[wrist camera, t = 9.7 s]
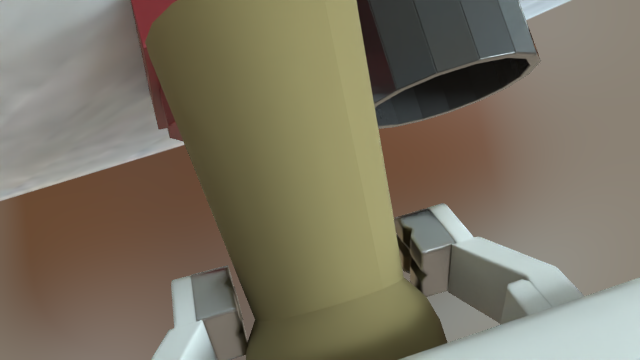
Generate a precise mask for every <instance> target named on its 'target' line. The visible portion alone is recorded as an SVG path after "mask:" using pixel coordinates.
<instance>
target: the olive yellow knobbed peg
mask: <svg viewBox="0 0 640 360" xmlns="http://www.w3.org/2000/svg"><path fill="white" fill-rule="evenodd" d="M145 44H146V47H147V50H148V54H149V57H150V59H151V62H152V64H153V67H154V69H155V72H156V74H157V77H158V79H159V82H160V84H161V87H162V89H163V92H164V94H165V97H166V99H167V102H168V104H169V107H170V109H171V112H172V114H173V117H174V119H175V122H176V124H177V127H178V129H179V132H180V134H181V136H182V139H183V141H184V144H185V146H186V149H187V151H188V154H189V156H190V159H191V161H192V164H193V166H194V169H195V171H196V174H197V176H198V179H199V181H200V184H201V186H202V189H203V191H204V194H205V196H206V199H207V201H208V203H209V206H210V208H211V211H212V214H213V216H214V218H215V221H216V223H217V226H218V228H219V231H220V233H221V236H222V238H223V241H224V243H225V246H226V248H227V251H228V253H229V256H230V258H231V260H232V263H233V266H234V268H235V271H236V273H237V275H238V278H239V281H240V283H241V286H242V288H243V290H244V293H245V296H246V298H247V300H248V303H249V305H250V308H251V310H252V313H253V315H254V318H255V322H254V325H253V328H252V331H251V334H250V337H249V340H248V348H247V352H246V360H399V359H402V358H404V357H407V356H410V355H413V354H416V353H419V352H422V351H425V350H428V349H431V348H434V347H437V346H440V345H443V344H446V343H447V340H446V337H445V334H444V331H443V328H442V325H441V322H440V319H439V318H438V316H437V314H436V313H435V311H434V309H433V307H432V306H431V304H430V302H429V301H428V299H427V297H426V296H425V295H424V294H423V293H422V292H421V291H419V290H418V289H417V288H416V287H415V286H414V285H412V284H411V283H410V282H409V281H408V280H406V279H405V278H404V277H403V271H402V265H401V259H400V253H399V248H398V242H397V236H396V230H395V224H394V218H393V212H392V207H391V201H390V195H389V189H388V183H387V177H386V171H385V166H384V160H383V154H382V148H381V142H380V136H379V131H378V124H377V118H376V113H375V107H374V101H373V95H372V89H371V83H370V77H369V72H368V66H367V60H366V54H365V48H364V42H363V36H362V30H361V25H360V19H359V13H358V7H357V1H356V0H177V1H175V2H174V3H172V4H171V5H170V6H169V7H168V8H167V9H166V10H165V11H164V12H163V13H162V14H161V15H160V16H159V17H158V18H157V19H156V20H155V21H154V22H153V23H152V25H151V27H150V30H149V33H148V35H147V38H146V41H145Z"/></svg>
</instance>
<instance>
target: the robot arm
mask: <svg viewBox="0 0 640 360" xmlns="http://www.w3.org/2000/svg"><path fill="white" fill-rule="evenodd" d="M394 224H395V230H396V233H397V242H398V248H399V253H400V259H401V265H402V269H403V271H406V272H407V273H410V283H411V284H412V285H414V286H415V287H416V288H417V289H418V290H419V291H421V292H422V293H423V294H424V295H425V296H426V297H428V296H431V295H434V294H438V293H442V292H445V291H448V292H449V293H451V294H452V295H454V296H456V297H457V298H459V299H461V300H462V301H464V302H466V303H467V304H469V305H470V306H472V307H474V308H475V309H477V310H479V311H480V312H482V313H484V314H485V315H487V316H489V317H490V318H492V319H494V320H495V321H497V322H498V323H500V325H498V326H496V327H493V328H490V329H487V330H484V331H481V332H478V333H475V334H472V335H469V336H466V337H463V338H460V339H457V340H454V341H452V342H449V343H446V344H443V345H440V346H437V347H434V348H431V349H428V350H425V351H422V352H419V353H416V354H413V355H410V356H407V357H404V358H402V359H399V360H640V278H637V279H634V280H631V281H628V282H625V283H622V284H619V285H616V286H614V287H610V288H608V289H604V290H602V291H599V292H596V293H593V294H590V295H587V296H584V295H583V294H582V293H581V292H580V291H579V290H578V289H577V288H576V287H575V286H574V285H573V284H572V283H571V282H570V281H569V280H568V279H567V278H566V276H564V274H563V273H562V272H561V271H560V270H559V269H558V268H557V267H555V266H552V265H550V264H547V263H545V262H542V261H540V260H537V259H535V258H532V257H530V256H527V255H524V254H522V253H519V252H517V251H514V250H512V249H509V248H507V247H504V246H501V245H499V244H497V243H494V242H491V241H489V240H486V239H484V238H481V237H475V238H474V237H473V236H472V235H471V234H470V232H469V231H468V230H467V229H466V228H465V226H464V225H463V224H462V223H461V222H460V220H459V219H458V218H457V217H456V216H455V215H454V213H453V212H452V211H451V210H450V209H449V208H448V206H447V205H446V204H443V203H442V204H439V205H435V206H432V207H429V208H427V209H422V210H419V211H416V212H412V213H409V214H405V215H402V216H399V217H395V219H394ZM171 288H172V301H173V315H174V327H175V328H174V329H171V330H169V331H168V333H167V334H166V336H165V338H164V339H163V341H162V343H161V344H160V346H159V347H158V349H157V351H156V352H155V354H154V356H153V357H152V359H151V360H232V359H234V358H237V357H240V356H243V355H246V352H247V348H248V340H247V336H246V332H245V328H244V325H243V318H242V313H241V309H240V305H239V301H238V297H237V294H236V290H235V287H234V286H233V281H232V277H231V273H230V271H229V267H228V266H224V267H220V268H216V269H213V270H209V271H205V272H201V273H197V274H193V275H191V276H187V277H183V278H180V279H176V280H172V284H171Z"/></svg>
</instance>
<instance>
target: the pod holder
mask: <svg viewBox="0 0 640 360" xmlns="http://www.w3.org/2000/svg"><path fill="white" fill-rule="evenodd" d="M356 1H357V7H358V13H359V19H360V25H361V30H362V36H363V42H364V48H365V54H366V60H367V66H368V72H369V77H370V83H371V89H372V95H373V101H374V107H375V113H376V118H377V124H378V129H380V128H389V127H397V126H401V125H406V124H410V123H415V122H419V121H423V120H426V119H430V118H433V117H436V116H439V115H443V114H446V113H449V112H452V111H455V110H457V109H460V108H463V107H465V106H468V105H470V104H473V103H476V102H478V101H480V100H483V99H485V98H487V97H489V96H491V95H493V94H495V93H497V92H499V91H501V90H504V89H506V88H507V87H509V86H511V85H512V84H514V83H516V82H517V81H519V80H520V79H522V78H524V77H525V76H526V75H528V74H530V73H531V72H532V71H533V69H534V68H535V67H536V66H537V65H538V64H539V63H540V61H541V60H540V58H539V55H538V52H537V49H536V46H535V44H534V41H533V38H532V35H531V33H530V30H529V27H528V24H527V22H526V19H525V16H524V13H523V11H522V8H521V5H520V2H519V0H356Z"/></svg>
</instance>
